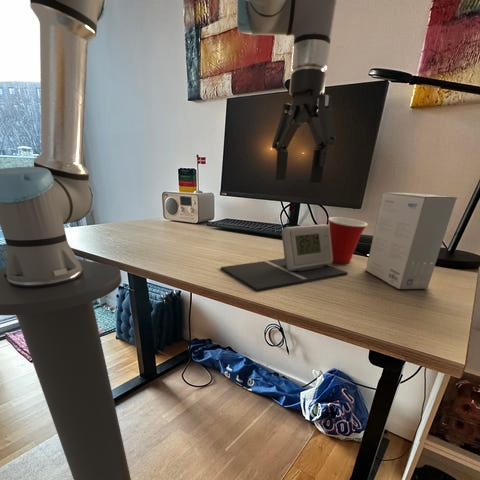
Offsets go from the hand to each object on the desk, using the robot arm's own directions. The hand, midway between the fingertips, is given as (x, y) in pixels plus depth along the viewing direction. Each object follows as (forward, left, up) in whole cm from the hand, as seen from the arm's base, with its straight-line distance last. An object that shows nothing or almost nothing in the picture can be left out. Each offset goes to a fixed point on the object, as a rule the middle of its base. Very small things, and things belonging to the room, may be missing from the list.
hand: (296, 181), depth 74 cm
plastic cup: (+18, -2, -22) cm, 28 cm away
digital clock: (+3, -4, -21) cm, 22 cm away
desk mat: (-4, -3, -22) cm, 22 cm away
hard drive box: (+18, -20, -22) cm, 35 cm away
